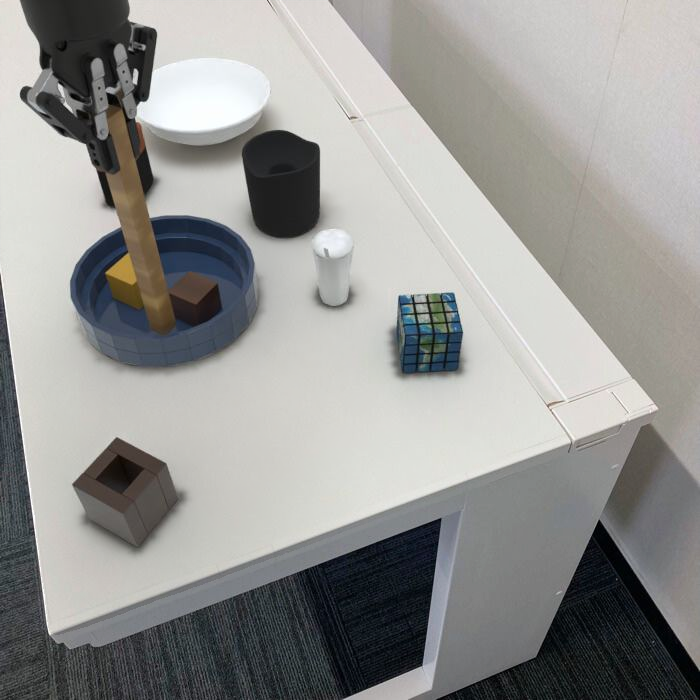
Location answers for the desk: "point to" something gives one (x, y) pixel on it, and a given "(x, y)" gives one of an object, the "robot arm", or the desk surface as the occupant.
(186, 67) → the bowl
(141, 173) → the battery
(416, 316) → the puzzle
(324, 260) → the milkshake
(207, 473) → the desk surface
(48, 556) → the desk surface
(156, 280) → the stick
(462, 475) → the desk surface
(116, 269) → the block mustard
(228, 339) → the mixing bowl
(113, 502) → the holder
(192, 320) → the block walnut
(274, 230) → the pen holder
